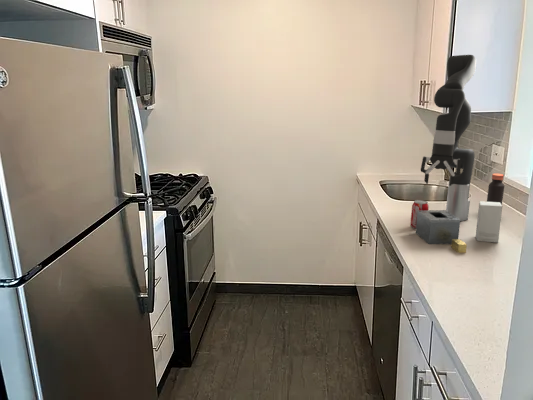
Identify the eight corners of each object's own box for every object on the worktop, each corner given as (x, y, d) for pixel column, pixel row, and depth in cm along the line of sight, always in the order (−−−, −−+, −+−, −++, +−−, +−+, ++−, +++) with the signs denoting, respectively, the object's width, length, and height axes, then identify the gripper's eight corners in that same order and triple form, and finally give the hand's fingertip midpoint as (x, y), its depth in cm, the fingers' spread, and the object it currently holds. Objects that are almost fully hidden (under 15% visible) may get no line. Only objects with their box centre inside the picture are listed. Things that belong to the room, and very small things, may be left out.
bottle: (485, 215, 224) (490, 175, 219) (484, 212, 230) (489, 172, 225) (500, 217, 221) (506, 176, 216) (499, 213, 227) (505, 173, 222)
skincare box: (496, 238, 192) (501, 202, 188) (498, 243, 186) (503, 206, 182) (474, 236, 195) (478, 200, 191) (475, 241, 189) (480, 204, 185)
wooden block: (458, 247, 182) (459, 239, 181) (465, 253, 176) (466, 244, 175) (451, 247, 182) (452, 239, 181) (458, 253, 176) (459, 244, 175)
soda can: (427, 230, 202) (430, 204, 199) (411, 229, 203) (413, 203, 200) (425, 225, 208) (428, 200, 205) (409, 224, 210) (411, 199, 207)
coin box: (442, 232, 199) (445, 210, 197) (457, 243, 186) (460, 219, 183) (415, 232, 199) (417, 210, 196) (428, 244, 185) (430, 220, 183)
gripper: (462, 143, 177) (457, 184, 181) (423, 140, 181) (418, 181, 185) (465, 144, 170) (459, 187, 174) (424, 141, 174) (419, 184, 178)
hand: (438, 184), depth 179 cm, fingers open, 8 cm apart
